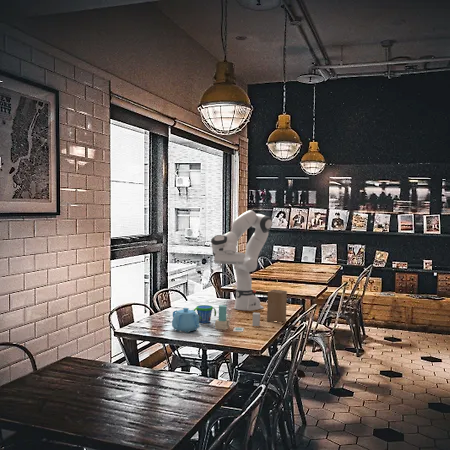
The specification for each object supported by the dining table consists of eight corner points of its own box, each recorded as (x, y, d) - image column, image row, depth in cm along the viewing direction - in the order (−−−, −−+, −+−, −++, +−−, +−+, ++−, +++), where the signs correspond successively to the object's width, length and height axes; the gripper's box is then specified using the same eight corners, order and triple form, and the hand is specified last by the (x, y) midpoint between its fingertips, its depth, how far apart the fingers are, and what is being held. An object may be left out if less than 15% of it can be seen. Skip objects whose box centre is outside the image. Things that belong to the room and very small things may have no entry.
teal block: (219, 319, 317) (219, 305, 317) (226, 319, 317) (226, 305, 317) (218, 320, 313) (218, 306, 312) (225, 321, 313) (226, 306, 312)
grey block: (252, 324, 325) (253, 312, 325) (259, 325, 325) (260, 312, 324) (252, 326, 321) (252, 314, 320) (259, 326, 320) (259, 314, 320)
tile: (234, 327, 316) (234, 326, 316) (243, 328, 315) (243, 327, 315) (233, 331, 307) (233, 330, 307) (243, 331, 306) (243, 330, 306)
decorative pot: (197, 327, 316) (198, 305, 316) (200, 333, 300) (200, 310, 300) (171, 327, 314) (172, 305, 314) (172, 333, 298) (172, 310, 298)
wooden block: (266, 321, 336) (267, 291, 335) (272, 318, 344) (273, 289, 344) (280, 323, 331) (281, 293, 330) (286, 320, 340) (287, 290, 339)
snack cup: (193, 324, 322) (194, 308, 321) (191, 320, 332) (191, 305, 332) (217, 323, 326) (218, 308, 325) (214, 319, 336) (214, 304, 335)
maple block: (218, 326, 320) (219, 318, 320) (229, 327, 317) (229, 319, 317) (215, 328, 313) (215, 320, 313) (225, 330, 311) (226, 322, 311)
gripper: (245, 255, 347) (243, 271, 338) (215, 254, 349) (213, 270, 340) (245, 249, 343) (243, 265, 334) (215, 248, 345) (212, 264, 336)
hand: (228, 268), depth 337 cm, fingers open, 8 cm apart
